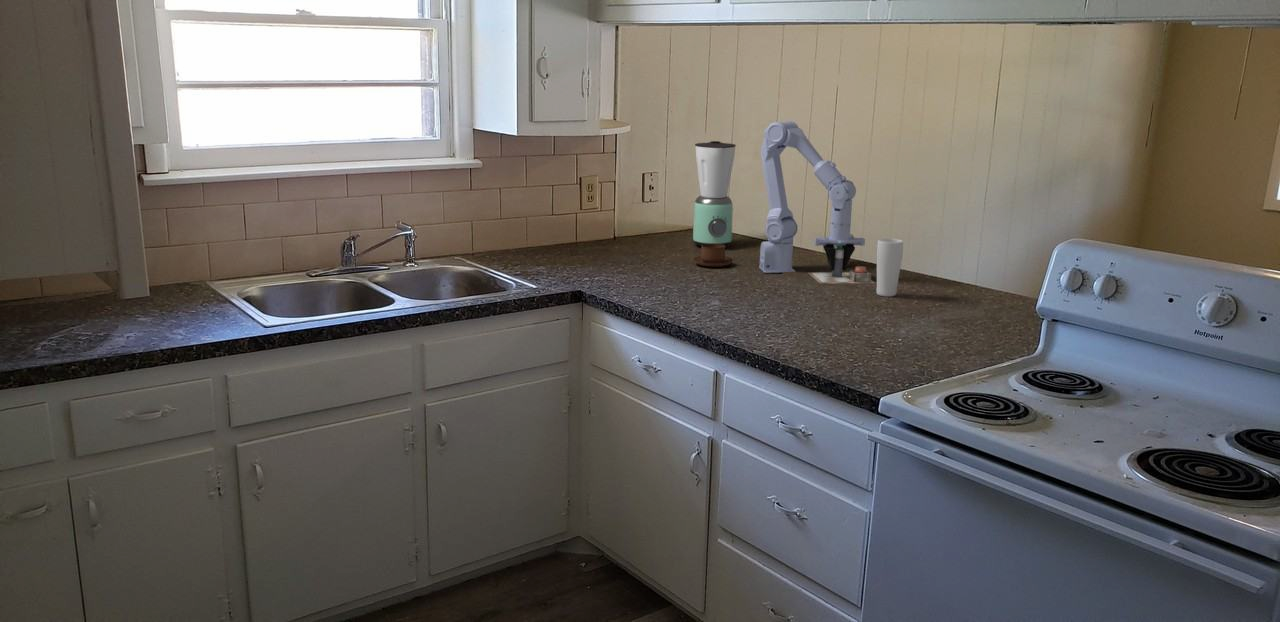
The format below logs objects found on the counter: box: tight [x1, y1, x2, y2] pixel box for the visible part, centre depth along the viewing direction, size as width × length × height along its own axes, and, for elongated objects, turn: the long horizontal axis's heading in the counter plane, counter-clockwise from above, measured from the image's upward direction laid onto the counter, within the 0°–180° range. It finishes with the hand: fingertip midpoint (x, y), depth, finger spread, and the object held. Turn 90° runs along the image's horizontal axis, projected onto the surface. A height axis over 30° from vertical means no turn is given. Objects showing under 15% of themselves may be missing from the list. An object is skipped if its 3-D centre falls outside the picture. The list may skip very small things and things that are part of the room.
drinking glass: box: [875, 238, 904, 298], centre depth 265 cm, size 7×7×15 cm
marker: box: [831, 248, 844, 277], centre depth 285 cm, size 3×3×8 cm
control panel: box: [807, 269, 876, 285], centre depth 285 cm, size 16×14×3 cm
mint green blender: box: [692, 140, 737, 249], centre depth 329 cm, size 19×13×35 cm
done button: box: [854, 265, 867, 273], centre depth 281 cm, size 3×3×2 cm
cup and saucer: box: [693, 244, 734, 268], centre depth 302 cm, size 12×12×6 cm
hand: (837, 269), depth 285 cm, fingers closed on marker, 3 cm apart
